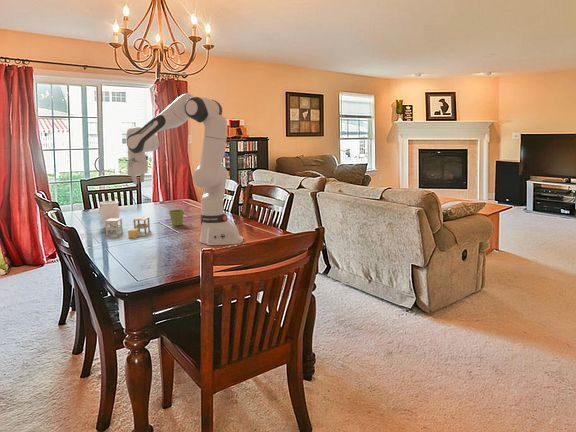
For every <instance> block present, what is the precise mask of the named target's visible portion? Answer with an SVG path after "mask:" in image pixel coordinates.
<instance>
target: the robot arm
mask: <svg viewBox="0 0 576 432" xmlns="http://www.w3.org/2000/svg"><path fill="white" fill-rule="evenodd" d="M222 114H223V107H222V105H221V104H220V103H219V102H218V101H217V100H214V99H211V98H207V97H199V96H194V95H193V94H191V93H188V92H186V93H183V94H181V95H180V96H178V97H177V98H176V99H175V100H173V101H172V102H171V103H170V104H169V105H168V106H167V107H165V109H164V110H163V111H161V112H160V113H158V114H157V115H156V116H155V117H153V118H152V119H151V120H149V121H148V122H147V123H146V124H144V126H142V127H139V126H135V127H134V126H133V127H130V128H127V130H126V136H125V137H126V146H127V159H128V162H127V165H126V166H127V168H126V170H127V172H126V173H127V176H128V177H131V179H132V184H133V185H138V180H137V178H138V177H137V176H140V177H139V183H144V182H145V176H146V175H145V174H147V173H148V171H149V168H148V167H149V165H148V164H149V163H148V160H149V156H148V155H147V154H146V153H148V152H155V151H157V150H158V149H159V147H160V143H161V142H160V138H159V137H158V135H157V133H158V132H159V133H160V132H161V131H165V130H168V129H169V130H170V129H176V128H179V127H180V126H182V125H184V124H185V123H186V122H187V121H188V120H189V119H192V120H194V121H196V122H197V123H199V124H201V123H202V124H203V125H204V134H203V141H202V148H201V150H202V151H201V155H200V158H199V161H198V164H197V167H196V169H195V171H194V172H193V174H192V181H193V183H194V185H195V186H196V187H198V188H199V189H200V188H202V189H203V192H202V196H201V198H200V206H201V207H200V208H201V209H200V210H201V214H200V226H201V229H200V236H199V240H198V241H199V243H201V244H204V245H206V246H221V245H222V246H225V245H239V244H241V243H243V242H244V240H243V239H244V236H242V235H240V232H239V228H238V227H237V226H236V225H234V224H233V223H231V222H230V221H229V220H228V214H226V213H224V195H225V194H224V193H225V187H226V184H227V183H226V182H227V180H228V177H229V172H228V170H227V168H226V167H225V166H224V165H222V164H221V163H222V160H223V159H224V156H225V155H226V147H227V139H228V137H227V136H228V126H227V125H228V122H227V119H226V117H225V116H224V115H222Z"/></svg>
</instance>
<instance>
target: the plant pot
mask: <svg viewBox="0 0 576 432" xmlns="http://www.w3.org/2000/svg"><path fill="white" fill-rule="evenodd" d="M168 213H169V216H170V221H171V225H172V226H175V227H178V226H182V225H183V223H184V222H183V221H184V213H185V210H184V209H172V210H168Z"/></svg>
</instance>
